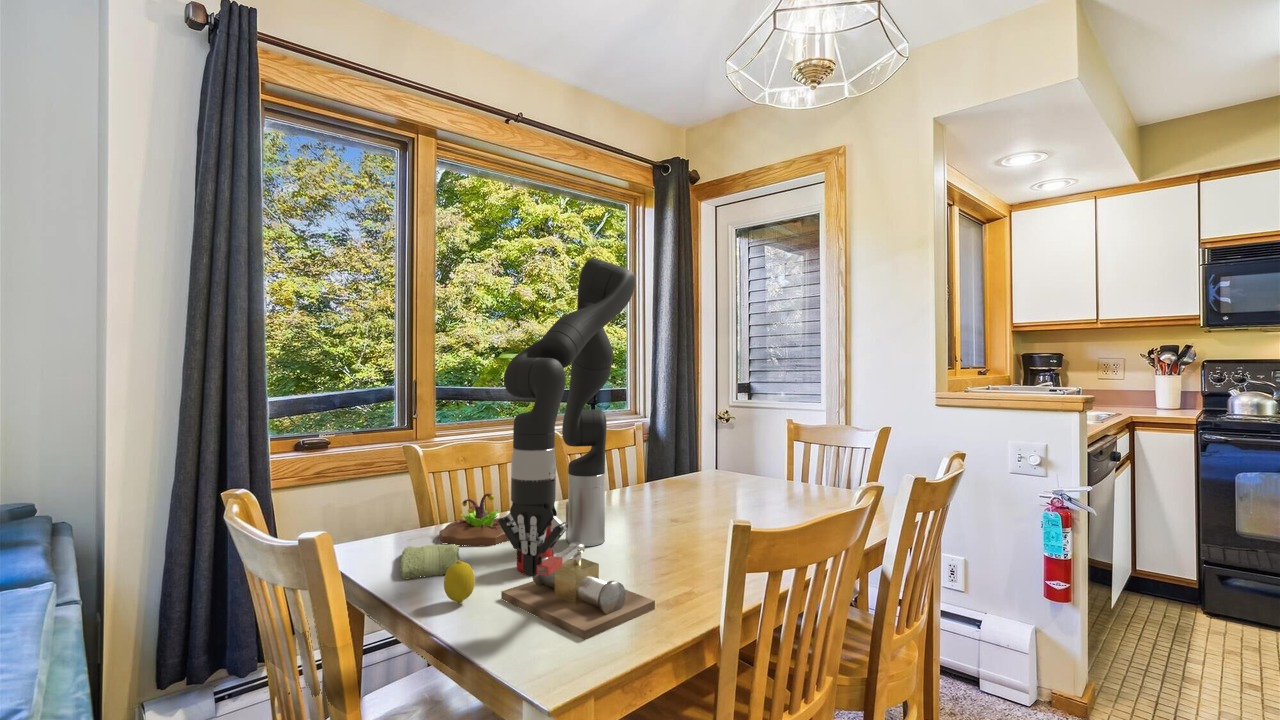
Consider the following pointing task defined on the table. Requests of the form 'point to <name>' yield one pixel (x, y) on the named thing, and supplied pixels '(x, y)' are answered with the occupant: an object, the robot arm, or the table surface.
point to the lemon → (459, 581)
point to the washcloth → (428, 560)
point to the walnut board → (574, 609)
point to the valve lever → (559, 559)
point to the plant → (475, 527)
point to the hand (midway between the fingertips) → (532, 574)
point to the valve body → (584, 585)
